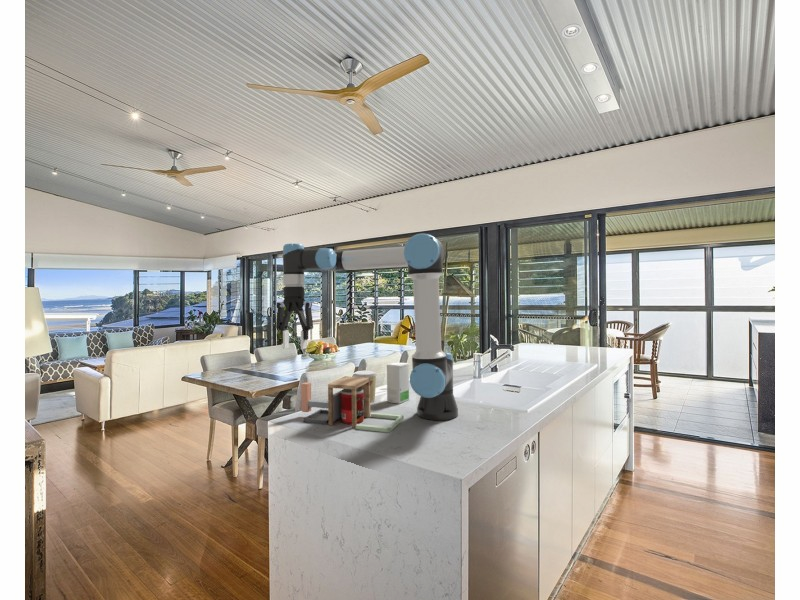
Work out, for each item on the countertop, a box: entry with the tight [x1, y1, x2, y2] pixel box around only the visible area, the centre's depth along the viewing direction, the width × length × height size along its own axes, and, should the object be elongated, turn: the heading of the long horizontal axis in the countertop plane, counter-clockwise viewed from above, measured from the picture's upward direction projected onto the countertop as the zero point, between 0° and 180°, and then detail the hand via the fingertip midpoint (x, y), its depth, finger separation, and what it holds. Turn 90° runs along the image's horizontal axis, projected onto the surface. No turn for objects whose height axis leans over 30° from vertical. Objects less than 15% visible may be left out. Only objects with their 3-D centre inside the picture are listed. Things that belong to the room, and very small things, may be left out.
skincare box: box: [386, 361, 410, 404], centre depth 174 cm, size 8×7×16 cm
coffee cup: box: [353, 369, 377, 404], centre depth 174 cm, size 9×9×12 cm
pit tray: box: [303, 408, 329, 425], centre depth 151 cm, size 9×12×1 cm
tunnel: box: [327, 375, 371, 429], centre depth 148 cm, size 10×13×14 cm
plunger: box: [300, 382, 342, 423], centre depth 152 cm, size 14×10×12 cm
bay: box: [355, 412, 405, 433], centre depth 145 cm, size 12×15×1 cm
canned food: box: [340, 388, 365, 425], centre depth 148 cm, size 8×8×11 cm
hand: (294, 348), depth 154 cm, fingers open, 7 cm apart
